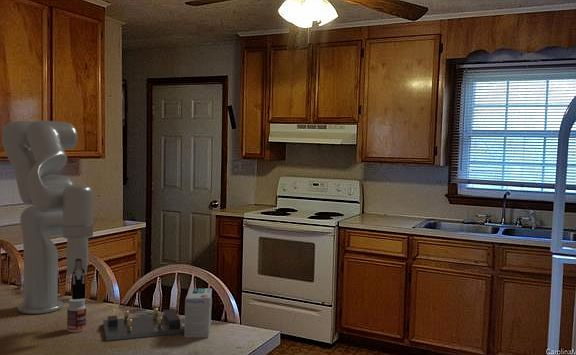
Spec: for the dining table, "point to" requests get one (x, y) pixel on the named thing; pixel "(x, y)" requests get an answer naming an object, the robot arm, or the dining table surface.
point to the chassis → (142, 325)
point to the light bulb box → (198, 313)
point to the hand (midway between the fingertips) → (78, 294)
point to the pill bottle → (76, 315)
